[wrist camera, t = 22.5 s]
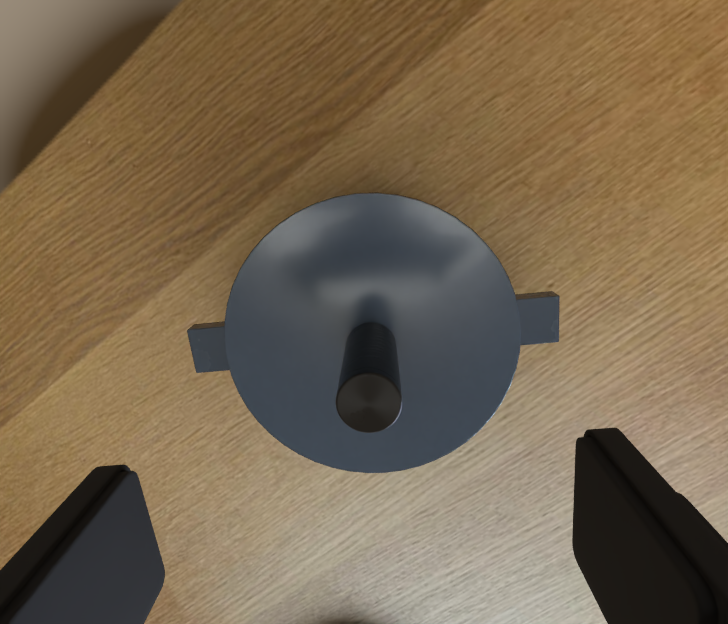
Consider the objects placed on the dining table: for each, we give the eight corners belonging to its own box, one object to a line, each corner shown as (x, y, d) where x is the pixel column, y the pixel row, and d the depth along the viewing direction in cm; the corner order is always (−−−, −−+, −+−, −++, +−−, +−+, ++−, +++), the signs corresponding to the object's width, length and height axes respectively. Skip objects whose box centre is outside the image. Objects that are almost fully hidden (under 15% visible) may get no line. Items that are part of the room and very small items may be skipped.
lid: (205, 208, 22) (129, 224, 15) (512, 176, 21) (575, 177, 15) (256, 470, 26) (213, 574, 19) (516, 451, 25) (567, 553, 19)
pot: (216, 210, 30) (155, 224, 22) (513, 178, 29) (567, 181, 21) (251, 398, 34) (211, 471, 26) (517, 376, 33) (562, 444, 25)
